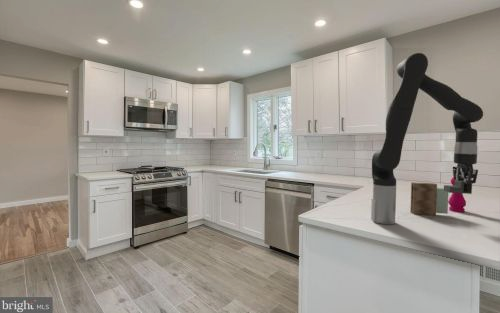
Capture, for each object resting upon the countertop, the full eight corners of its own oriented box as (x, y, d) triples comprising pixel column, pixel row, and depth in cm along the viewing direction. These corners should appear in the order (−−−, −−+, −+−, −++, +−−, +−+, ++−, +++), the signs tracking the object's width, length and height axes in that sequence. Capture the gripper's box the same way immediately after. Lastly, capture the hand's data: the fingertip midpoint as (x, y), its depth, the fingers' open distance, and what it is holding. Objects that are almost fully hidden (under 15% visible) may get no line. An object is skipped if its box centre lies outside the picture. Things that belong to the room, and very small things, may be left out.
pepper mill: (465, 210, 129) (467, 173, 128) (465, 213, 123) (467, 175, 122) (448, 208, 134) (449, 172, 133) (447, 211, 128) (448, 173, 127)
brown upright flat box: (413, 214, 123) (414, 183, 122) (410, 212, 126) (411, 182, 125) (435, 215, 120) (437, 184, 119) (432, 213, 123) (433, 183, 123)
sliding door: (420, 212, 123) (420, 187, 122) (419, 211, 124) (419, 187, 123) (447, 213, 120) (448, 188, 119) (446, 213, 121) (447, 188, 120)
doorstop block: (449, 192, 105) (450, 181, 104) (443, 190, 110) (444, 179, 109) (471, 193, 103) (472, 182, 102) (464, 191, 107) (465, 180, 107)
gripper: (446, 152, 112) (444, 188, 113) (465, 153, 99) (462, 194, 99) (465, 152, 111) (463, 188, 111) (487, 153, 97) (484, 195, 98)
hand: (463, 191), depth 105 cm, fingers closed on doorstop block, 5 cm apart
